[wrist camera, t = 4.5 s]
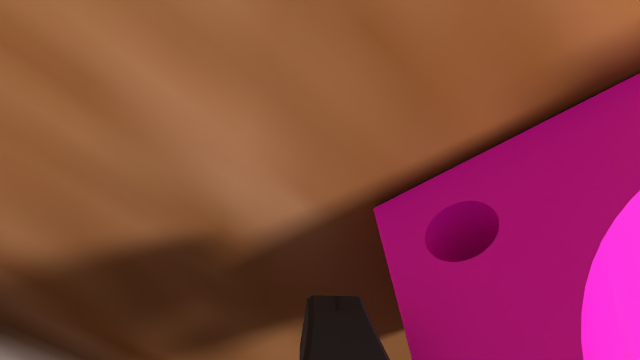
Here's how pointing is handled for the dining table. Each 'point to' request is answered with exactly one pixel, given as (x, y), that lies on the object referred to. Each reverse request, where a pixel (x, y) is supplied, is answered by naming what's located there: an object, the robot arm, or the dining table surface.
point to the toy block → (527, 243)
